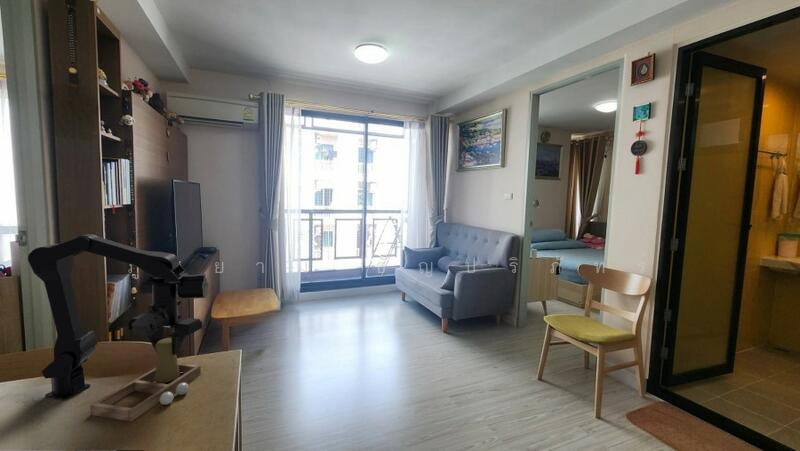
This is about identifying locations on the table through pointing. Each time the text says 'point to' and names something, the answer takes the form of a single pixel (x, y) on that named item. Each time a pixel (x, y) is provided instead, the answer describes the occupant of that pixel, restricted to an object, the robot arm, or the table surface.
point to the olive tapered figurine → (166, 362)
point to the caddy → (141, 385)
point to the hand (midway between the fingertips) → (166, 353)
